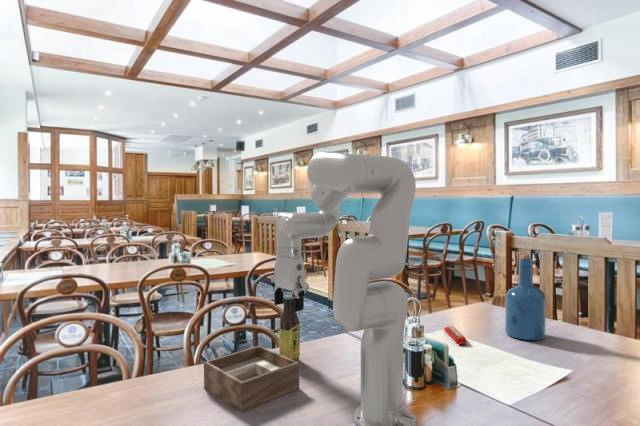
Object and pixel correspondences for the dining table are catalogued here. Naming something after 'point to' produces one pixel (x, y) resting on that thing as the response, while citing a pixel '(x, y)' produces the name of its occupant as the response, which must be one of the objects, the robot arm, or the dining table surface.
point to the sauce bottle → (289, 331)
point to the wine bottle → (525, 306)
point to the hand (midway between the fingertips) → (288, 307)
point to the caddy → (251, 377)
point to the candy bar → (455, 335)
